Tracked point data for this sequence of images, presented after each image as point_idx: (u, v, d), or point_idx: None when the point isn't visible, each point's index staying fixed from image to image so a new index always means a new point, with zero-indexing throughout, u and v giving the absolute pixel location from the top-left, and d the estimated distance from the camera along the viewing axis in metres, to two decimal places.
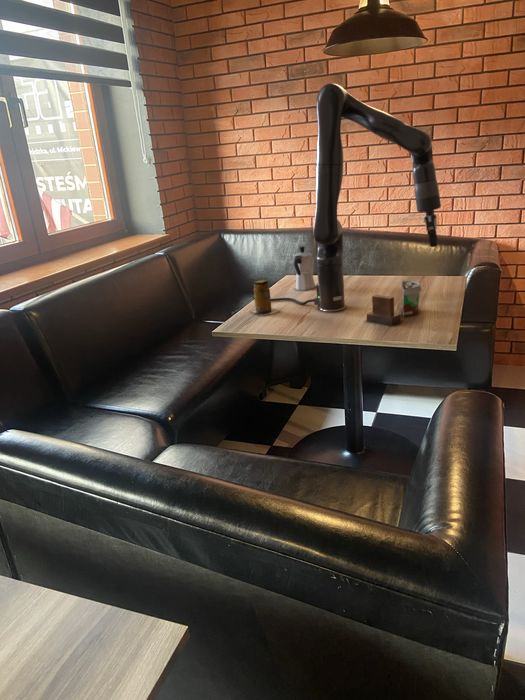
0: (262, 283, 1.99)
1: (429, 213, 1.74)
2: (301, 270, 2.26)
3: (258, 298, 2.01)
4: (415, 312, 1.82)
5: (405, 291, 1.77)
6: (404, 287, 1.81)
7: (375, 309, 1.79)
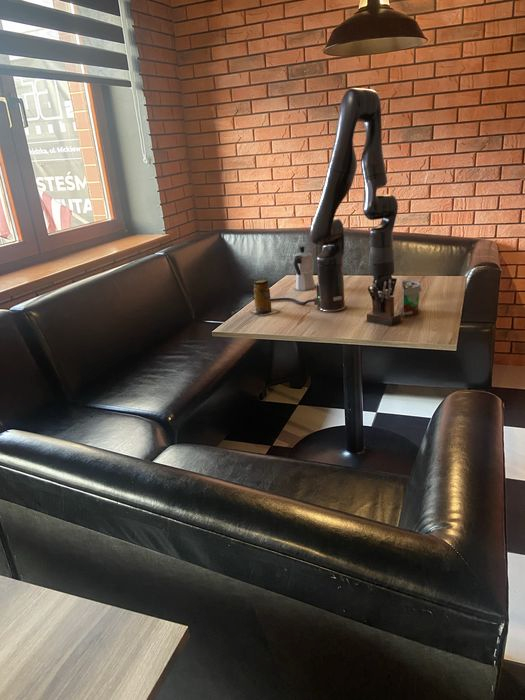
0: (262, 283, 1.99)
1: (375, 278, 1.71)
2: (301, 270, 2.26)
3: (258, 298, 2.01)
4: (415, 312, 1.82)
5: (405, 291, 1.77)
6: (404, 287, 1.81)
7: (375, 309, 1.79)
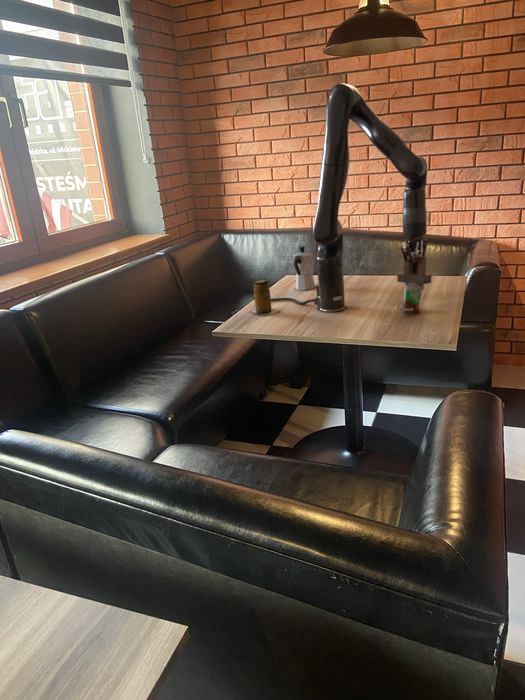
0: (262, 283, 1.99)
1: (408, 239, 1.74)
2: (301, 270, 2.26)
3: (258, 298, 2.01)
4: (415, 310, 1.82)
5: (408, 286, 1.78)
6: (407, 284, 1.82)
7: (406, 269, 1.81)
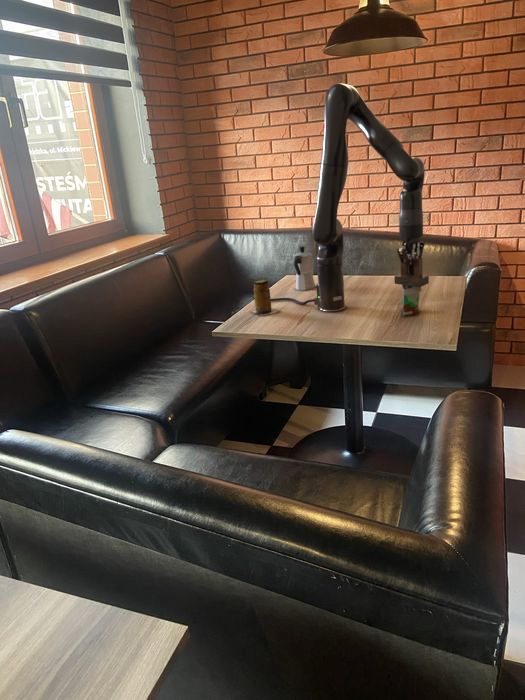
0: (262, 283, 1.99)
1: (405, 241, 1.74)
2: (301, 270, 2.26)
3: (258, 298, 2.01)
4: (415, 312, 1.82)
5: (405, 291, 1.77)
6: (404, 287, 1.81)
7: (403, 271, 1.81)
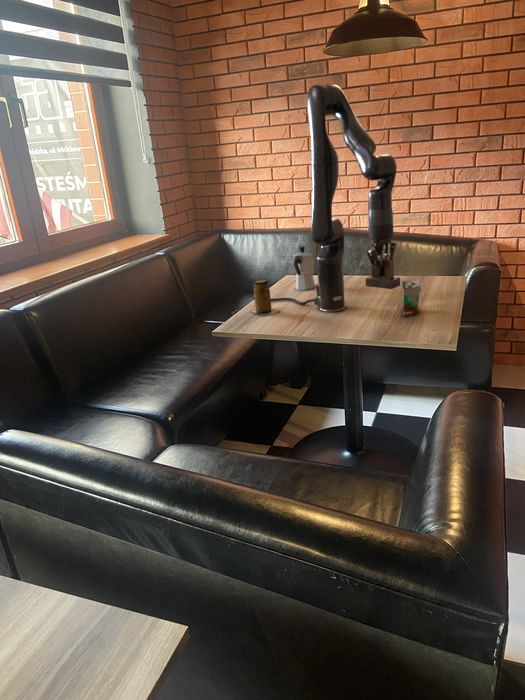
0: (262, 283, 1.99)
1: (374, 242, 1.67)
2: (301, 270, 2.26)
3: (258, 298, 2.01)
4: (415, 312, 1.82)
5: (405, 291, 1.77)
6: (404, 287, 1.81)
7: (374, 273, 1.74)
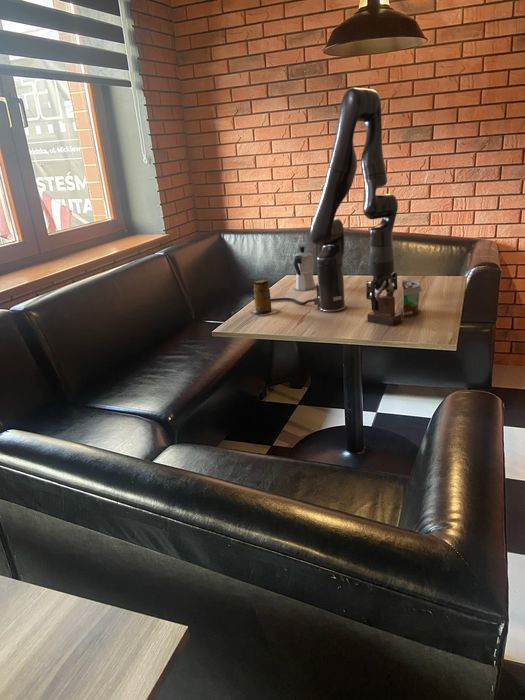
0: (262, 283, 1.99)
1: (375, 278, 1.71)
2: (301, 270, 2.26)
3: (258, 298, 2.01)
4: (415, 312, 1.82)
5: (405, 291, 1.77)
6: (404, 287, 1.81)
7: None
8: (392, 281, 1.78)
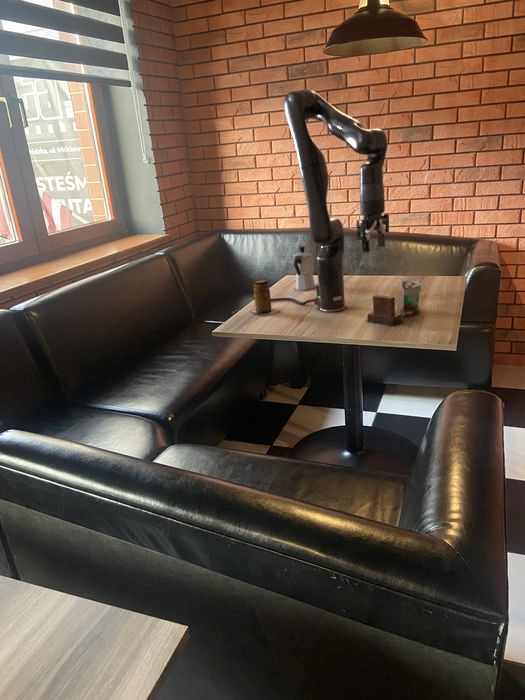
0: (262, 283, 1.99)
1: (365, 217, 1.67)
2: (301, 270, 2.26)
3: (258, 298, 2.01)
4: (415, 312, 1.82)
5: (405, 291, 1.77)
6: (404, 287, 1.81)
7: (376, 309, 1.78)
8: (383, 223, 1.74)
